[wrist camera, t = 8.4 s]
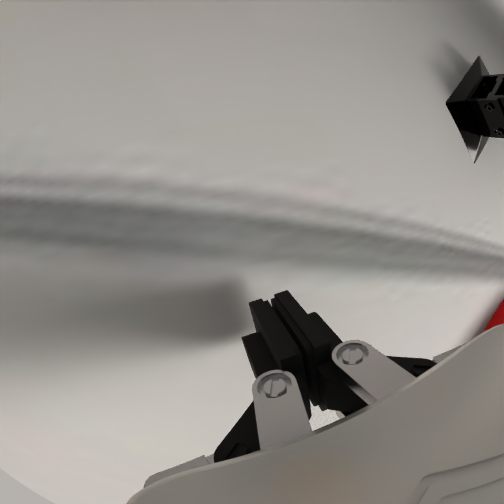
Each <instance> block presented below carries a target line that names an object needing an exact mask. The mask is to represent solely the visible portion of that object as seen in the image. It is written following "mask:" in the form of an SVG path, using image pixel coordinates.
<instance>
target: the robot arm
mask: <svg viewBox="0 0 504 504" xmlns="http://www.w3.org/2000/svg"><path fill="white" fill-rule="evenodd" d="M274 297H275V298H273V299H271V304H272V306H271V305H270V303H269V302H268V300H267V301H263V300H262V299H259V300H256V301H252V302H249V306H250V310H251V313H252V317H253V321H254V324H255V328H256V333H253V334H250V335H247V336H244V337H242V340H243V344H244V347H245V350H246V353H247V356H248V359H249V362H250V365H251V367H252V370H253V373H254V375H255V378H256V380H255V381H254V383H253V386H252V393H253V402H252V403H251V404H250V406H249V407H248V408H247V410H246V411H245V412H244V414H243V415H242V416H241V418H240V419H239V420H238V422H237V423H236V424H235V426H234V427H233V428H232V429H231V431H230V432H229V433H228V435H227V436H226V437H225V438H224V440H223V441H222V442H221V443H220V445H219V446H218V447H217V449H216V450H215V452H214V454H212V455H210V456H207V457H205V456H204V455H203V456H200V457H198V458H195V459H193V460H191V461H188V462H186V463H183V464H180V465H178V466H175V467H173V468H170V469H167V470H164V471H161V472H159V473H156V474H154V475H152V476H150V477H149V478H148V479H147V480H146V481H145V484H144V488H143V489H142V490H140V491H139V492H137V493H136V494H135V495H133V496H132V497H131V498H130V499H129V501H128V502H127V504H504V324H501V325H498V326H495V327H493V328H491V329H489V330H487V331H485V332H483V333H482V334H480V335H478V336H477V337H475V338H474V339H472V340H471V341H469V342H467V343H465V344H463V345H461V346H458V347H456V348H454V349H452V350H449V351H447V352H444V353H442V354H440V355H437V356H435V357H433V360H432V361H431V360H429V359H423V358H406V357H392V356H385V355H383V354H382V353H381V352H379V351H378V350H376V349H375V348H374V347H372V346H371V345H369V344H368V343H366V342H364V341H360V340H350V341H345V342H342V341H341V339H340V338H339V337H338V336H337V335H336V334H335V333H334V332H333V331H332V329H331V328H330V327H329V326H328V325H327V324H326V323H325V322H324V321H323V319H322V318H321V317H320V316H319V315H318V314H317V313H316V312H313V313H310V314H307V313H306V312H305V310H304V309H303V308H302V307H301V306H300V305H299V303H298V302H297V301H296V300H295V299H294V297H293V296H292V295H291V294H290V293H289V291H287V290H286V291H283V292H280V293H277V294H275V295H274ZM309 399H310V400H309ZM310 401H311V402H312V404H313V406H317V405H319V407H320V409H321V410H322V411H324V410H327V409H330V410H335V411H336V414H337V416H338V417H339V418H340V420H337V421H335V422H333V423H331V424H328V425H326V426H324V427H321V428H319V429H317V430H314V431H312V429H311V426H310V423H309V420H310V418H311V416H312V415H311V406H310Z"/></svg>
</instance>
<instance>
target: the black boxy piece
mask: <svg viewBox="0 0 504 504" xmlns="http://www.w3.org/2000/svg"><path fill="white" fill-rule="evenodd" d="M446 106H447V108H448V110H449V111H450V113H451V115H452V117H453V119H454V121H455V123H456V125H457V127H458V129H459V131H460V133H461V136H462V138H463V140H464V142H465V144H466V147H467V149H468V151H469V153H470V156H471V158H472V161H473V163H475V162H476V160H477V158H478V156H479V155H480V153H481V151H482V149H483V147H484V146H485V144H486V142H487V140H488V138H489V137H495V138H504V74H496V75H489V73H488V71H487V69H486V67H485V65H484V63H483V61H482V60H481V58H480V56H478V57H477V59H476V60H475V62H474V63H473V65H472V66H471V68H470V69H469V71H468V72H467V74H466V75H465V76H464V78H463V79H462V81H461V82H460V83H459V85H458V86H457V88H456V89H455V90H454V92H453V93H452V95H451V96H450V97H449V99H448V100H447V101H446ZM496 130H497V131H496Z"/></svg>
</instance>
